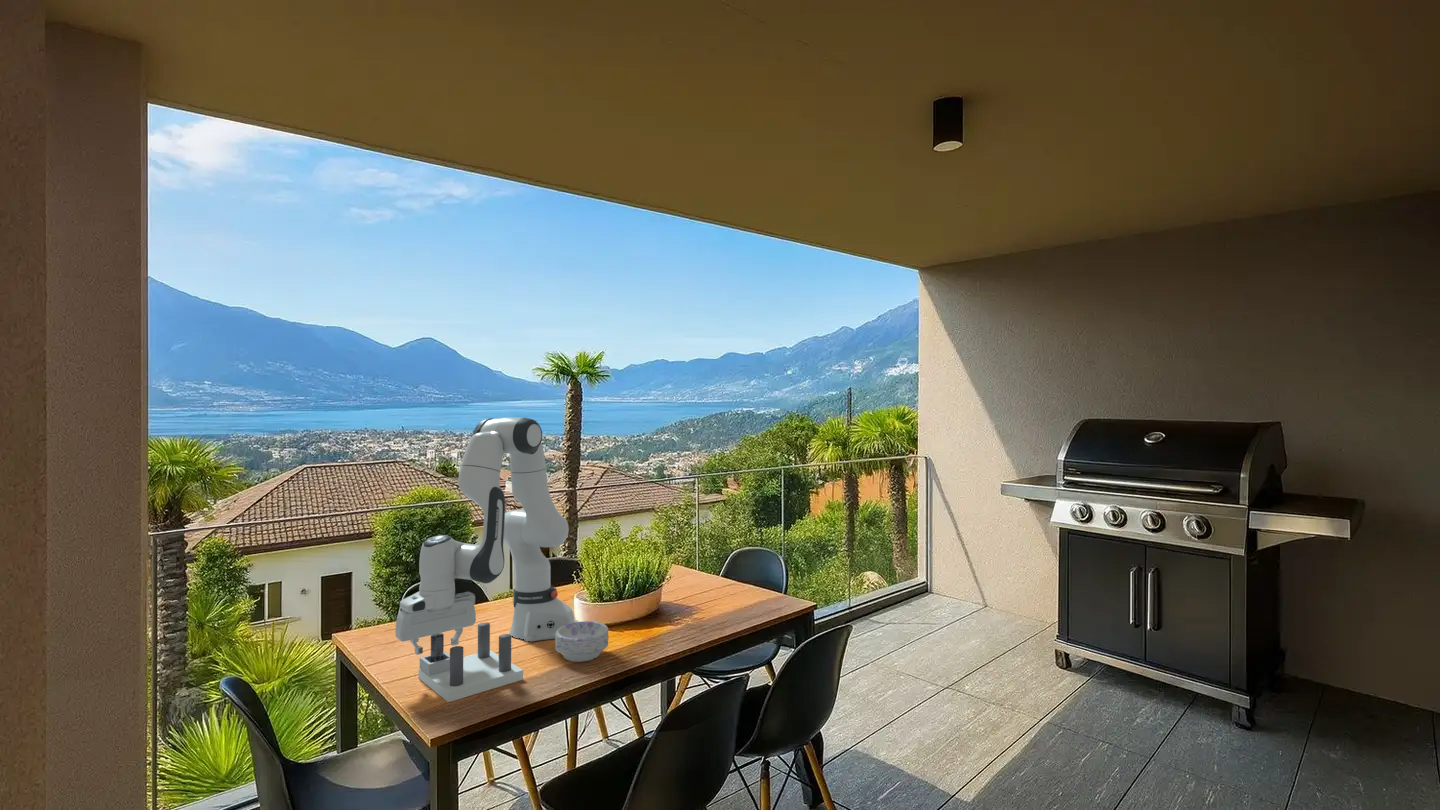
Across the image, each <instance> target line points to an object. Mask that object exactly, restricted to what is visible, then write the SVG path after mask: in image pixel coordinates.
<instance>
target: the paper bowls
mask: <svg viewBox="0 0 1440 810" xmlns="http://www.w3.org/2000/svg"><path fill="white" fill-rule="evenodd" d="M554 640H555V642H554V643H555V644H554V646H555V651H556V652H557V653H559V654H562V656H563V658H564V659H566V660H567V661H569V662H573V663H574V662H575V663H584V662H588V661H592V660H595V659H597V658H598V657H599V656H600V655H601V652H602V651H603V650H605V649H607V647H608V646H609V628H608V626H607V625H606V624H604V623H602V622H597V621H592V620H591V621H579V622H574V623H569V624H566V625H563V626H561V627H560V628H558V629H557V630H556V632H555V638H554ZM594 658H595V659H594Z"/></svg>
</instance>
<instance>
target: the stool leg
mask: <svg viewBox="0 0 1440 810" xmlns="http://www.w3.org/2000/svg"><path fill="white" fill-rule="evenodd" d="M444 636H445V634H444V633H443V632H442V633H438V634H434V635H430V655H431V663H433V662H437V661H440V660H444V649H445V648H444V647H445V646H444V645H445V643H444V642H445V641H444Z"/></svg>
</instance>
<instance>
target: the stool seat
mask: <svg viewBox="0 0 1440 810" xmlns="http://www.w3.org/2000/svg"><path fill="white" fill-rule="evenodd" d="M490 648H491V624H490V622H480V623H478V624H477V652H476V653H473V654H470V655H466V656H465V655H464V647H463V646H462V645H455V646H452V647H450V648H449V653H448V652H446V651H444V660H440V661H437V662H433V663H431V654H429V655H425V656H422V657H419V668H418V679H419V680H420V681H422V683H424V684H425V685H426V686H428V688H430V689H431V690H432V691H433V692H434V693H436V694H437V695H439V697H441V698H442V699H443V700H445V701H446V702H447V703H451V702H454V701H458V700H460V699H463V698H466V697H470V696H474V695H476V694H480V693H484V692H486V691H489V690H494V689H496V688H500V687H504V686H506V685H509V684H512V683H516V682H520V681H523V680H524V669H523V668H521V667H519V666H518V665H516V664H514V663H512V636H511V635H510V633H503V634H500V635H499V636H498V653H496V652H494V651H493V650H492V649H490Z"/></svg>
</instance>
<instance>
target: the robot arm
mask: <svg viewBox="0 0 1440 810" xmlns="http://www.w3.org/2000/svg"><path fill="white" fill-rule="evenodd" d="M542 440H543V431H542V427H541V426H540V424H539V422H538V421H537V420H535V419H533V418H530V417H529V418H528V417H513V416H512V417H511V416H507V417H500V418H499V417H498V418H493V417H492V418H491V417H489V418H485V419H483V420H481V421H480V422H478V423H477V425H475V427H474V431H473V434H472V436H471V437H470V439H469V442H468V444H467V446H466V447H465V451H464V454H463V457H462V459H461V460H462V461H461V465H460V469H459V472H458V480H457V483H458V488H459V490H460V491H461V493H462V494H463V495H464V496H465V497H466V498H467V499H469V500H470V501H472V502H474V503H475V504H477V505H478V506H479V507H480V508H481V510H482V513H483V524H482V525H483V527H482V540H481V544H473V543H466V542H462V541H458V540H455V539H454V538H452V536H450V535H447V534H441V535H440V534H438V535H433V536H431V537H429V538H426V539H425V540H424V541H423V542H422V545H421V547H420V551H419V552H420V553H419V562H418V567H419V568H418V569H419V571H418V572H419V576H420V582H419V583H420V584H419V587H418V590H419V591H417V592H415V593H413V594H412V595H409V596H407V597H405V598H403V599H401V600H400V602H399V607H400V609H401V610H399V612H398V613H397V617H396V622H395V633H394V634H395V637H396V638H397V640H399V641H400V642H407V641H410V643H411V644H412V646H413V647H414V654H415V655H416V656H418V655H422V654H423V653H424V651H423V650H424V647H423V646H422V645H418V643H419V639H422V638H424V637H429V636H431V635H434V634H438V633H442V634H443V633H446V632H451V631H454V632H455V634H454V635H453V637H451V638H450V645H451V646H452V647H455V646H459V642H460V641H459V639H460V638H461V635H462V634H463V630H464V628H467V627H472V626H474V625H475V623H476V621H477V614H476V607H475V604H476V596H475V595H476V594H474V593H473V592H470V591H465V592H460V593H456V586H455V585H456V583H455V579H461V580H469V581H474V582H478V583H481V584H490V583H492V582H493V581H494V580H496V579H497V578H499V576H500V575H501V573H502V572H503V571H504V567H505V552H504V542H505V543H506V545H507V547H508V549H509V551H510V555H511V557H512V560H513V565H514V589H513V592H512V604H513V607H514V609H513V617H512V622H511V626H510V631H509V634H510V635H511V637H512V636H513V638H515V639H519V638H520V640H523V639H524V641H525V642H528V641H530V642H538V641H545V640H552V639H554V640H555V632H556V630H557V629H558V628H560V627H561V626H563V625H566V624H569V623H574V622H578V621H579V620H577V619H575V614H574V612H573V608H571V606H569V604H567V603H565V602H564V601H562V600H561V599H559V598H558V591H557V590H558V589H557V588H556V586H552V585H551V562H550V560H549V559H548V558H547V557H546V556H545V555H544V553H543V552H542V549H541V548H554V547H558V546H559V547H560V546H561V545H562V544H564V543H565V541H566V540H567V538H568V536H569V530H570V529H569V528H570V527H569V523H568V520H567V519H566V518H565V517H564V516H563V515H562V514H560V512H559V511H558V509H557V508H556V506H555V504H554V502H553V499H552V497H551V494H550V491H549V485H548V484H549V482H548V475H547V463H546V462H547V461H546V456H545V452H544V447H543V443H542ZM505 454H509V457H510V459H509V460H510V461H509V462H510V463H509V467H510V479H511V480H510V481H511V492H512V496H513V497H514V499H515V500H516V501H517V502H518V503H519V504H520V505H521V507H522V508H523V509H515V510H510V511H506V496H505V493H504V491H503V490H502V488H501V486H500V485H501V484H500V476H501V470H502V463H503V456H504V455H505Z"/></svg>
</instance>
